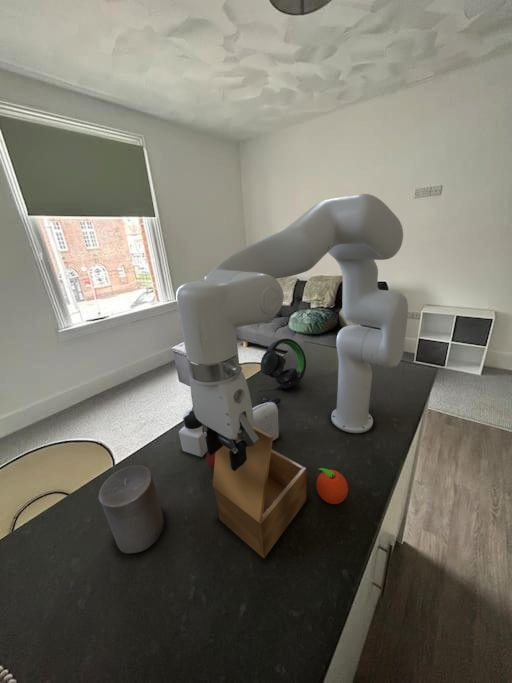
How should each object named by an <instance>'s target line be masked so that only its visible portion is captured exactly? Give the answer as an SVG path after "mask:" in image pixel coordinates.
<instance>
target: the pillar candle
mask: <svg viewBox="0 0 512 683" xmlns="http://www.w3.org/2000/svg"><path fill="white" fill-rule="evenodd" d="M98 493H99V494H98V500H99V503H100V504H101V506H102V509H103V512H104V515H105V517H106V519H107V524H108V525H109V528H110V531H111V534H112V535H113V538H114V540H115V543H116V546H117V548H118V550H120V552H122V553H124V554H136V553H140V552H143V551H146V550H147V549H149V548H150V547H152V545H154V544H155V543H156V542H157V540H158V539H159V538H160V535H161V534H162V532H163V529H164V525H165V524H164V523H165V520H164V514H163V511H162V507H161V505H160V504H161V503H160V500H159V497H158V493H157V490H156V486H155V483H154V478H153V475H152V473H151V471H150V470H149V468H148V467H146V466H144V465H138V464H137V465H136V464H135V465H129V466H125V467H123V468H120V469H119V470H116V471H115V472H113V473H112V474H111V475H109V477H108V478H106V479H105V481H104V482H103V483H102V485H101V487H100V490H99V492H98Z"/></svg>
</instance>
